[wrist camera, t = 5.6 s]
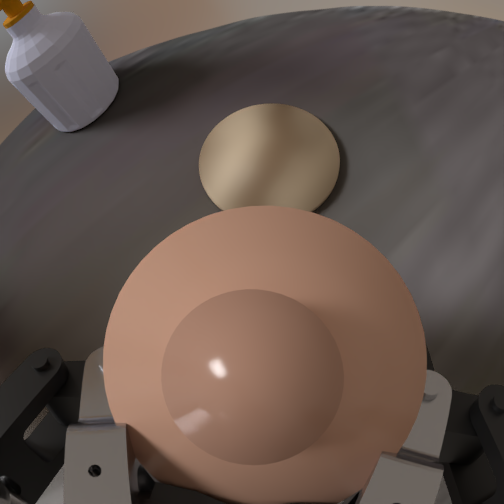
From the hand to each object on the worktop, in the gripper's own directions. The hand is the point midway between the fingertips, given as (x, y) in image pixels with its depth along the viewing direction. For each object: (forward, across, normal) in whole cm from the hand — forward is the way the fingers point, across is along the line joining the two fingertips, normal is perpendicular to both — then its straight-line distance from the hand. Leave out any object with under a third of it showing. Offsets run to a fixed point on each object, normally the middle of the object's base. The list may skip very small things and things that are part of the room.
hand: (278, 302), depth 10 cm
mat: (+17, +2, 0) cm, 17 cm away
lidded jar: (+1, 0, +4) cm, 4 cm away
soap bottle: (+23, +23, -7) cm, 33 cm away
